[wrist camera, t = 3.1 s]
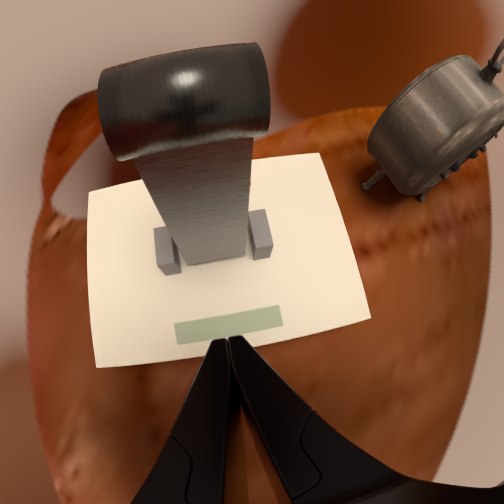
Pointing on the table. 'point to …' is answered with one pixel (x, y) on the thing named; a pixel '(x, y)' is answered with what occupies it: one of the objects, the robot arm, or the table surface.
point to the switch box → (221, 271)
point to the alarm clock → (437, 124)
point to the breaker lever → (191, 138)
